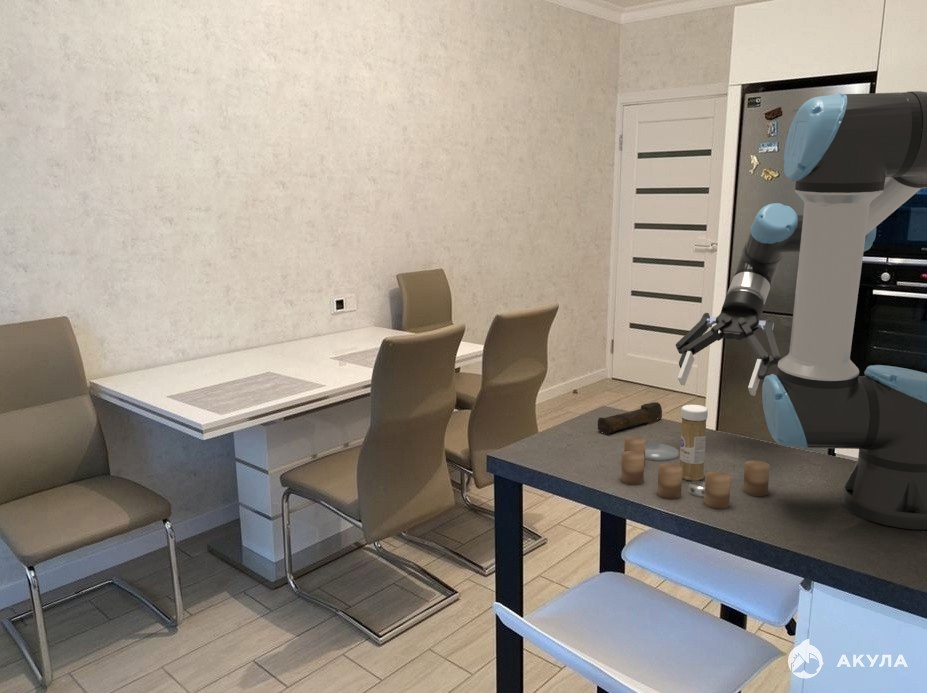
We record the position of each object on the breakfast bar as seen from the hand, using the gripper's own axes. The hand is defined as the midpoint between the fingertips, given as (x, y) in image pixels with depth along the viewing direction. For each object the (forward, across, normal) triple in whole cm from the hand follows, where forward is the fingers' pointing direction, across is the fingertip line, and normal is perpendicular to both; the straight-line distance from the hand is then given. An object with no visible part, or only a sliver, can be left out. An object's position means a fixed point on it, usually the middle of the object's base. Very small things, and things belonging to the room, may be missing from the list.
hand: (715, 386), depth 136 cm
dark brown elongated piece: (+3, +23, -19) cm, 30 cm away
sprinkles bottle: (+18, 0, -4) cm, 18 cm away
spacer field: (+20, +1, -1) cm, 20 cm away
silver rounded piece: (+22, -4, +1) cm, 23 cm away
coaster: (+12, +11, -9) cm, 19 cm away
